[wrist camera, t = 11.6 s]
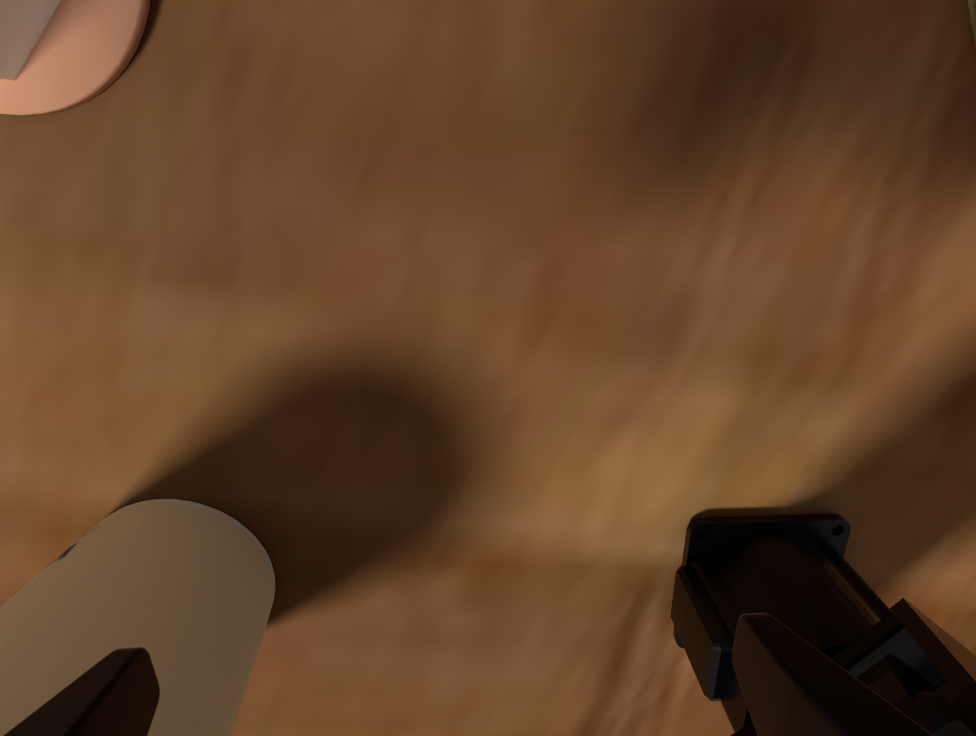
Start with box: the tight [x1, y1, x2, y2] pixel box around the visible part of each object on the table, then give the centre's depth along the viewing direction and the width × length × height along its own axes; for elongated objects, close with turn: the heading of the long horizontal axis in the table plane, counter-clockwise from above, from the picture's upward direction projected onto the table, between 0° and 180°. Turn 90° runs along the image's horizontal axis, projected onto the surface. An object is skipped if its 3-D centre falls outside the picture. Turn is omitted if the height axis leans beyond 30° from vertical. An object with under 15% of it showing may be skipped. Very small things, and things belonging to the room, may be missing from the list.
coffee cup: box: [0, 499, 275, 736], centre depth 18 cm, size 9×9×12 cm
